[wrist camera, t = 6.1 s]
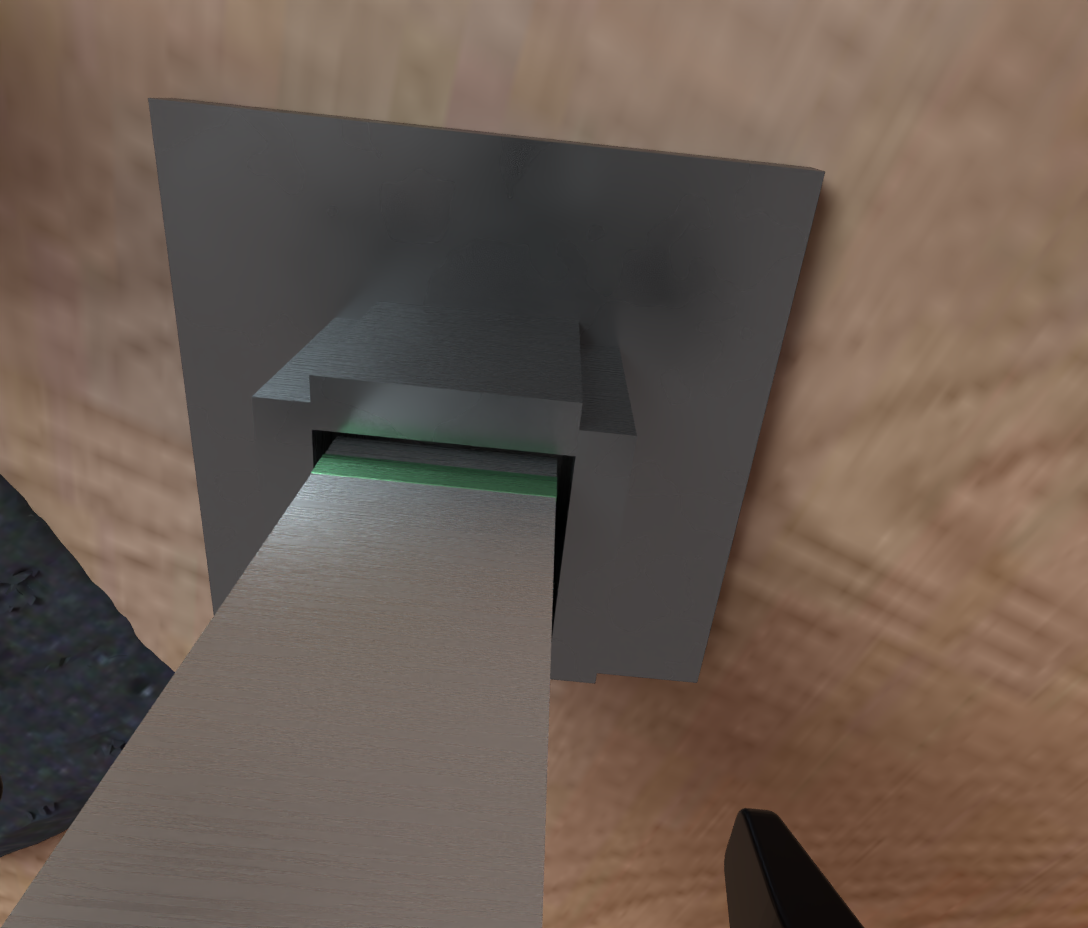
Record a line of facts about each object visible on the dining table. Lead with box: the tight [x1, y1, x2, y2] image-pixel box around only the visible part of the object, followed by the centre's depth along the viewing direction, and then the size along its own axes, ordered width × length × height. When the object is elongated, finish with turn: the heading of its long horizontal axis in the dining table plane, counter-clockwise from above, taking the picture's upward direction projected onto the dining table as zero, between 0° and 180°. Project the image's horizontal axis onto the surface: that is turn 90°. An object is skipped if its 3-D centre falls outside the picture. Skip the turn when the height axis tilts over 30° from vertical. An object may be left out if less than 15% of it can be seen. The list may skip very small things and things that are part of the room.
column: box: [1, 436, 557, 928], centre depth 10 cm, size 4×4×10 cm
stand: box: [148, 98, 825, 683], centre depth 17 cm, size 14×14×6 cm
